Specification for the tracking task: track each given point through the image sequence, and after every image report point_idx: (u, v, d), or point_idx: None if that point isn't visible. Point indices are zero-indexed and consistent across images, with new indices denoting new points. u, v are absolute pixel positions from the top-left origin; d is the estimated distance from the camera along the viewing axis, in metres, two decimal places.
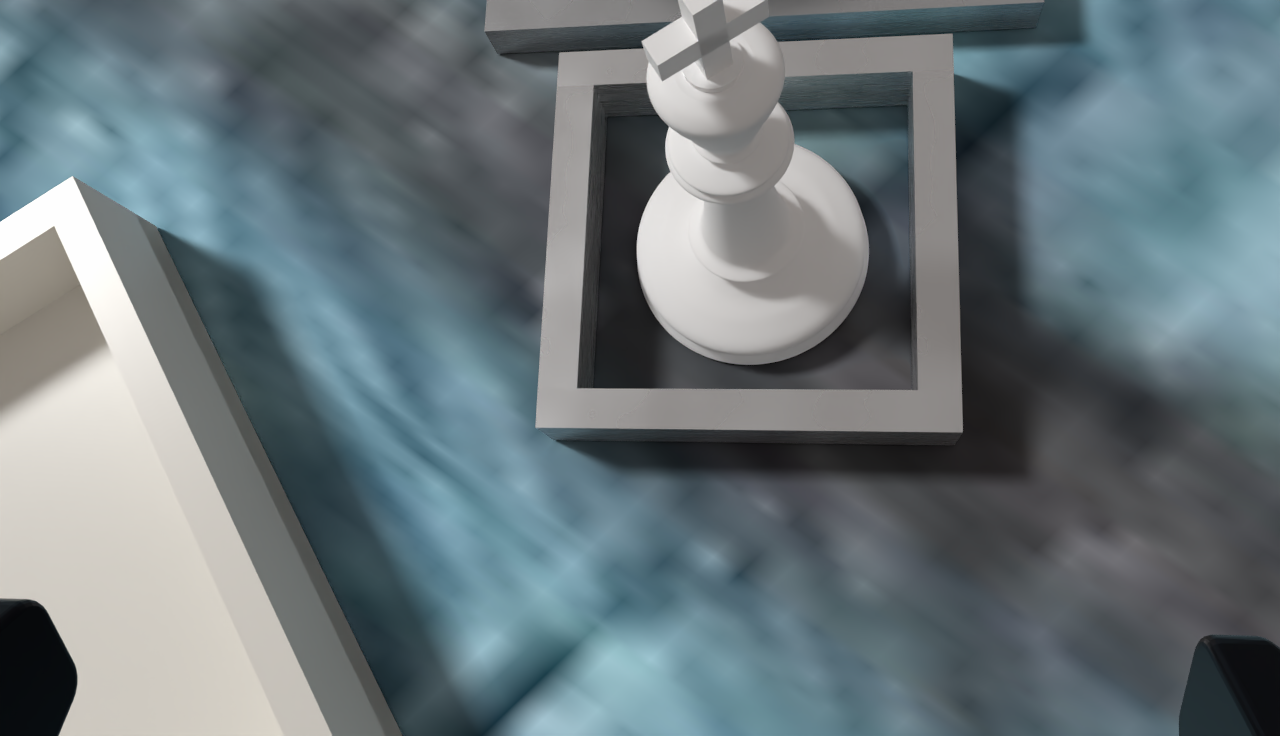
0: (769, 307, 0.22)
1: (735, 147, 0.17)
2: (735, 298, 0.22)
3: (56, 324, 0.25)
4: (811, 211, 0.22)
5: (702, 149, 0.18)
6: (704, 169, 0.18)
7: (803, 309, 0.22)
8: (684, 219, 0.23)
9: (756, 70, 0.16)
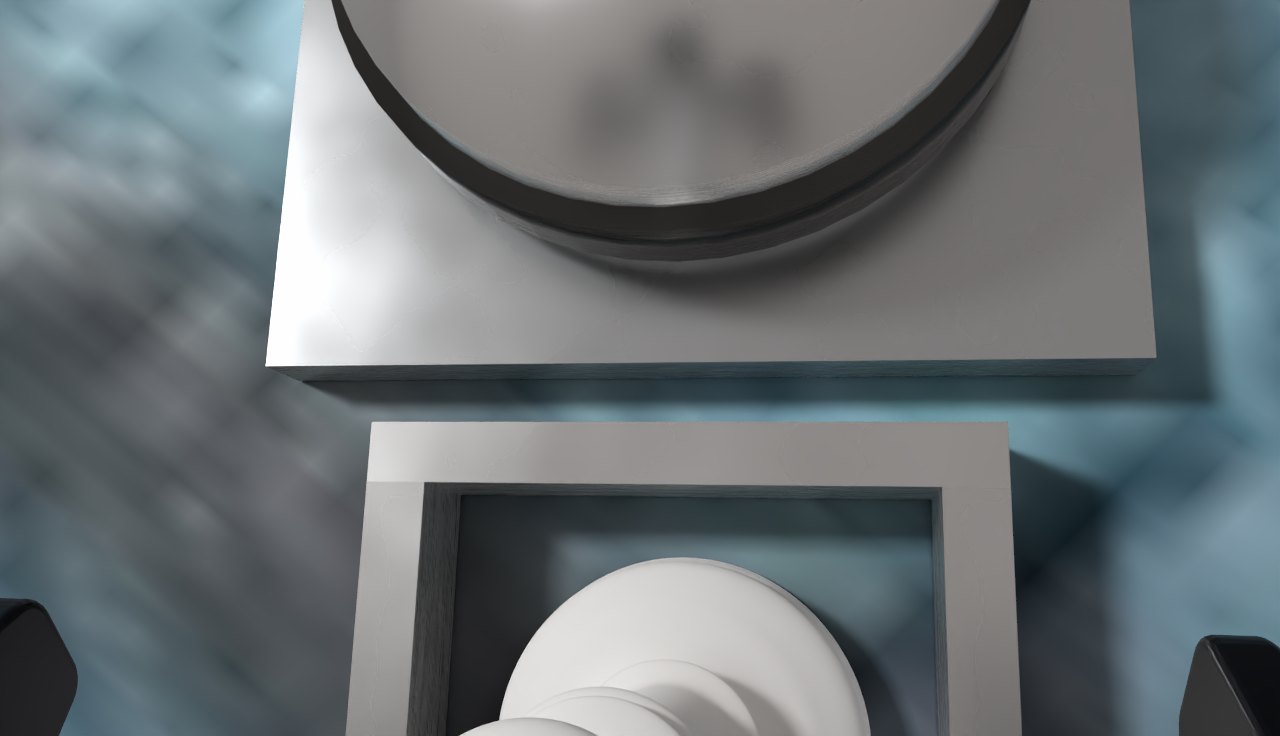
0: None
1: None
2: None
3: None
4: (777, 719, 0.13)
5: None
6: None
7: None
8: None
9: None
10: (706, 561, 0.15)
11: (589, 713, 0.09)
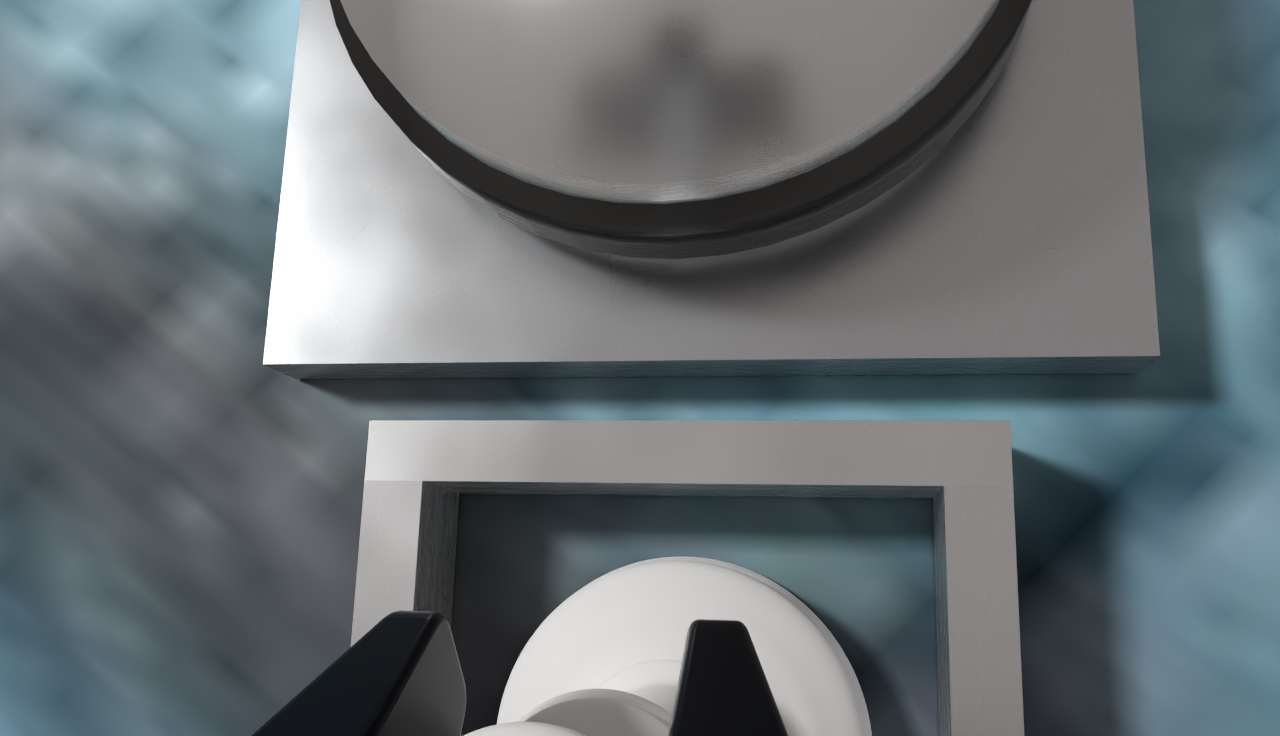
0: None
1: None
2: None
3: None
4: None
5: None
6: None
7: None
8: None
9: None
10: (706, 560, 0.15)
11: (587, 716, 0.09)
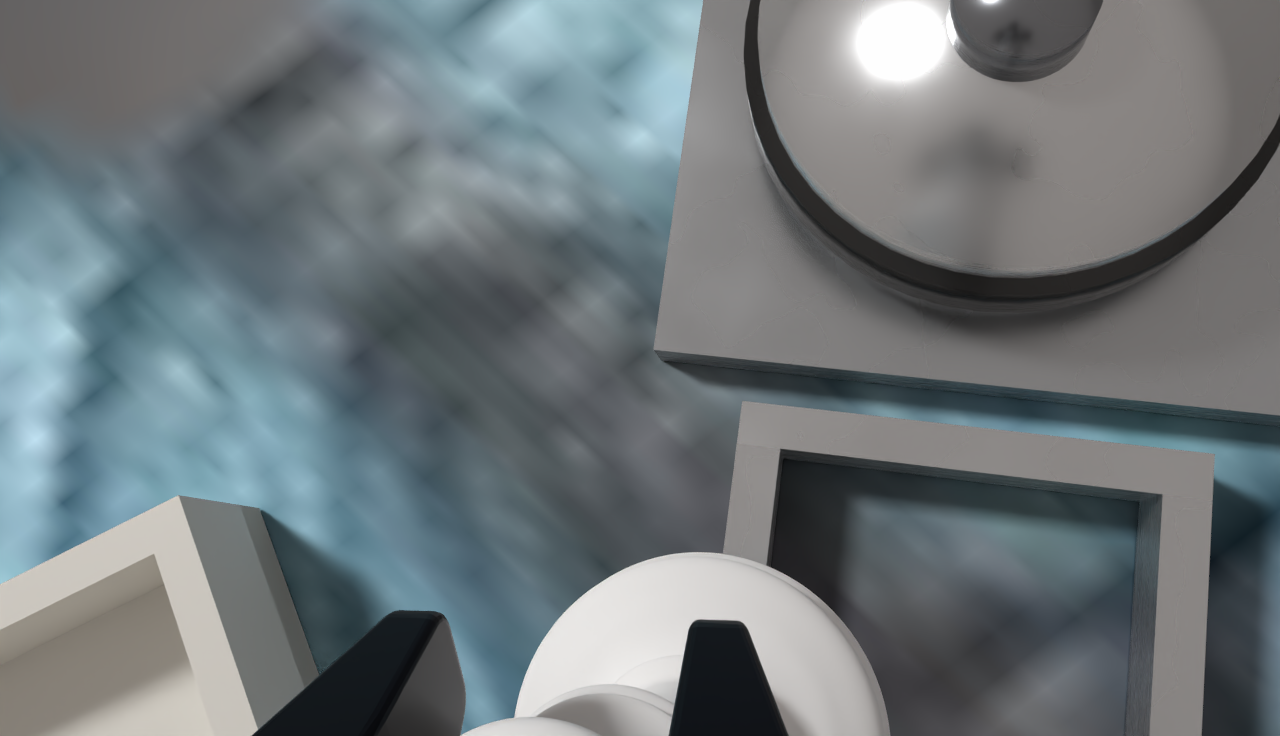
0: None
1: None
2: None
3: (143, 624, 0.22)
4: (794, 715, 0.13)
5: None
6: None
7: None
8: None
9: None
10: (723, 556, 0.15)
11: (598, 711, 0.09)
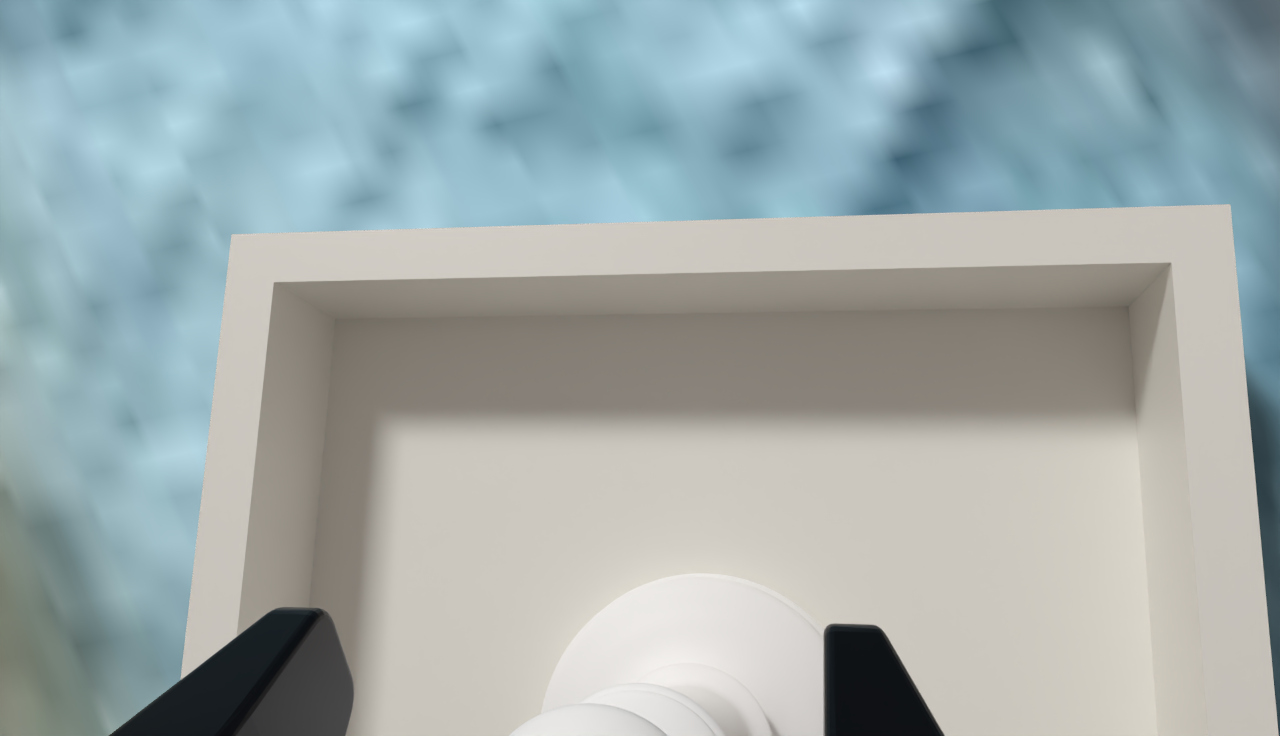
0: None
1: None
2: None
3: (998, 343, 0.17)
4: (787, 720, 0.15)
5: None
6: None
7: None
8: None
9: None
10: (729, 578, 0.17)
11: (633, 704, 0.11)
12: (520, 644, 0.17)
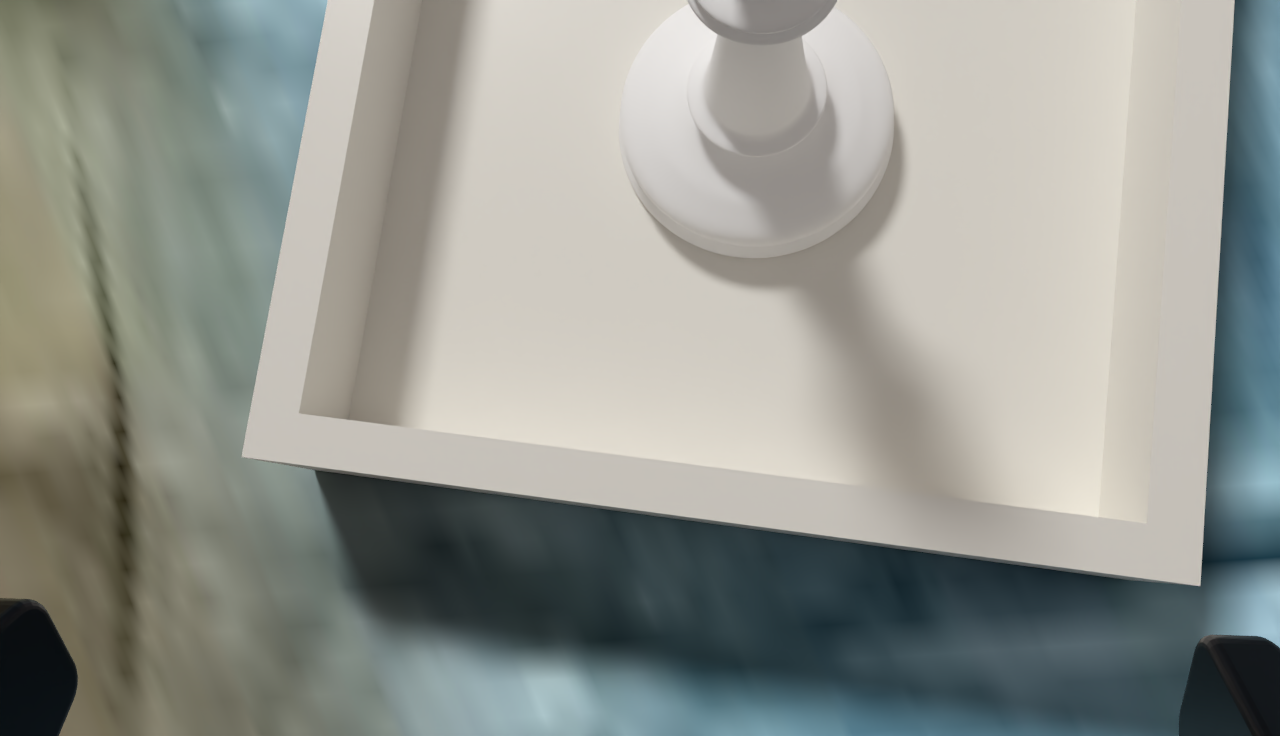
0: (769, 191, 0.18)
1: None
2: (730, 174, 0.19)
3: None
4: (836, 85, 0.19)
5: None
6: None
7: (808, 200, 0.19)
8: (683, 71, 0.19)
9: None
10: None
11: None
12: (605, 45, 0.20)
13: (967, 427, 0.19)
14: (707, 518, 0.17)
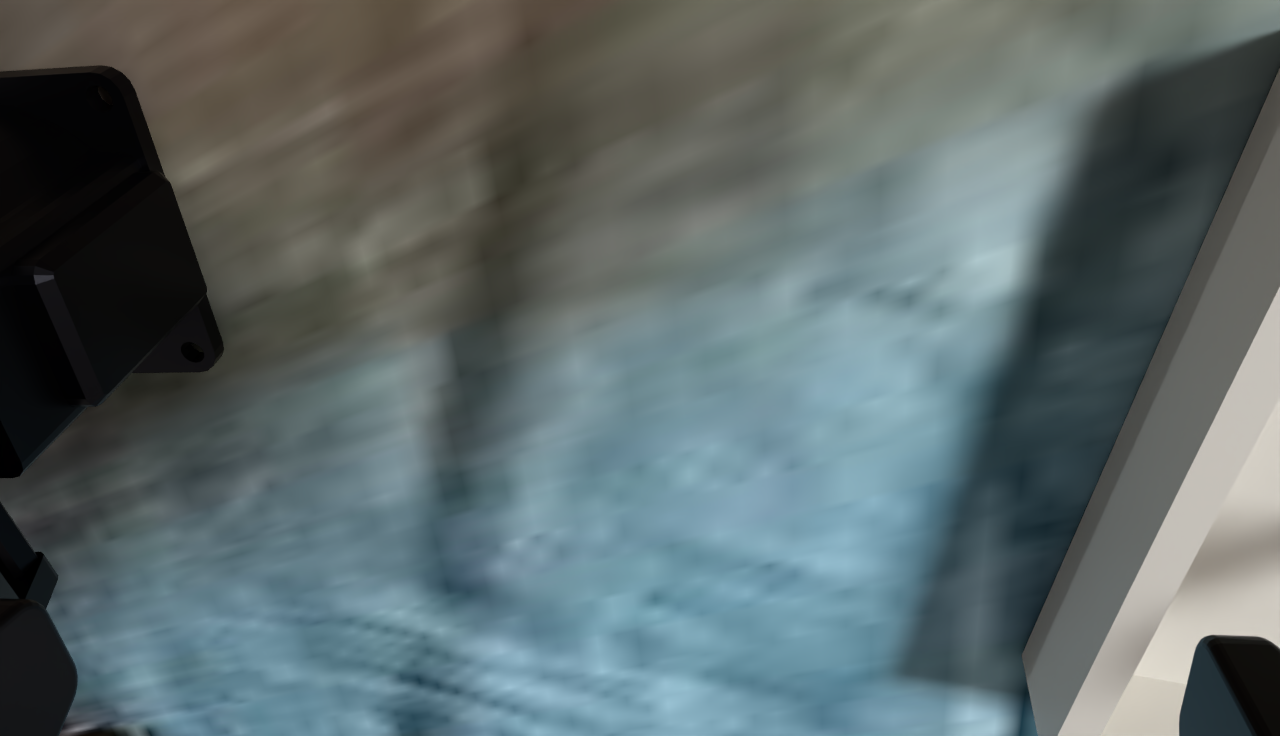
0: None
1: None
2: None
3: None
4: None
5: None
6: None
7: None
8: None
9: None
10: None
11: None
12: None
13: (1174, 603, 0.23)
14: (1174, 503, 0.19)
